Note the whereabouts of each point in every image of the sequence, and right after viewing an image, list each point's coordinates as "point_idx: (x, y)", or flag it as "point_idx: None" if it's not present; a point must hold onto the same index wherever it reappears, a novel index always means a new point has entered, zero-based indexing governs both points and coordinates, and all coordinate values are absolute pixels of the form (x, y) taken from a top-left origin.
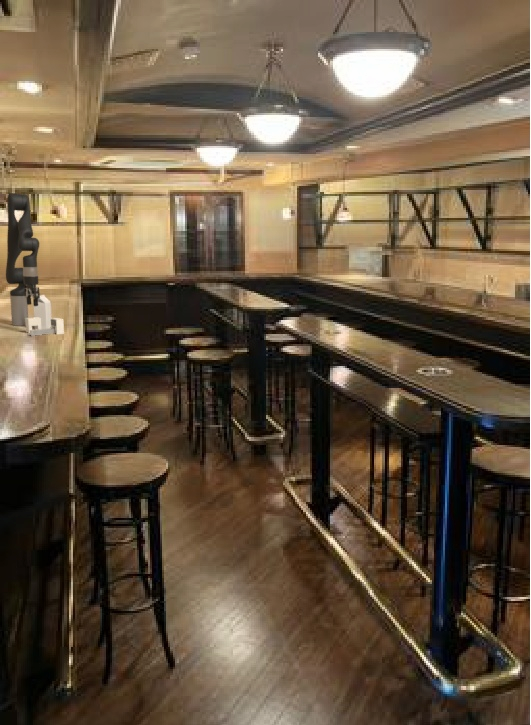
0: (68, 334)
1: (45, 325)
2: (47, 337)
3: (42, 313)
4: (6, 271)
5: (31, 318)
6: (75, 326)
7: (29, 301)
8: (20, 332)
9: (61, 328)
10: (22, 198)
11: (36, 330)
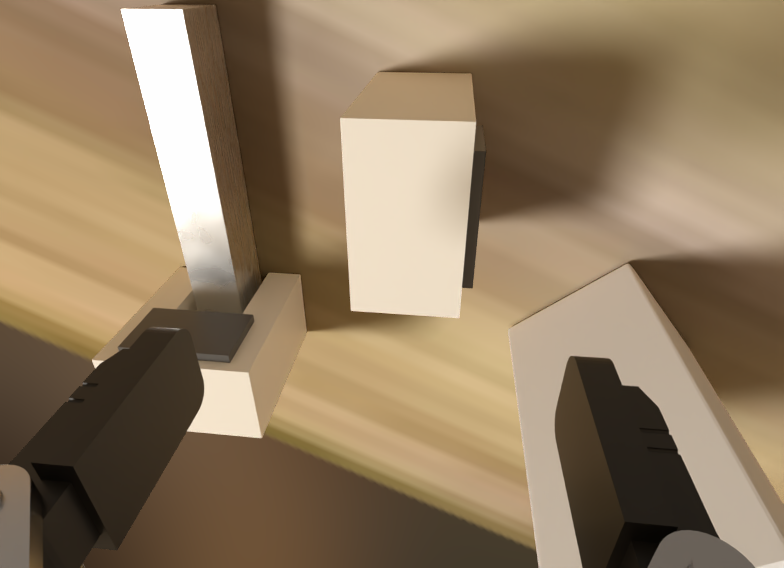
0: None
1: (519, 348)
2: (38, 121)
3: None
4: None
5: (367, 185)
6: (492, 521)
7: (579, 459)
8: (530, 14)
9: None
10: None
11: (142, 85)
